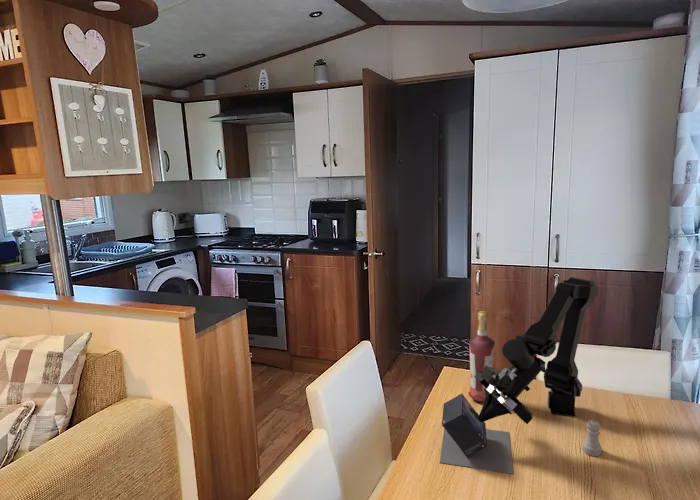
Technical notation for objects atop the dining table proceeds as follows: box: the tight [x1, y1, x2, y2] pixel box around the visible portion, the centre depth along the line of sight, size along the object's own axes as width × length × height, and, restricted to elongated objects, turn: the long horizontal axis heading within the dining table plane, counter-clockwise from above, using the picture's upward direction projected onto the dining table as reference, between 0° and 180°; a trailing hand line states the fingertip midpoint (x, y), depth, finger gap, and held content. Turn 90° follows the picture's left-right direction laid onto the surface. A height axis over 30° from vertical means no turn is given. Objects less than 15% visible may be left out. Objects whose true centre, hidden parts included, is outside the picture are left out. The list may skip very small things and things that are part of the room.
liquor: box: [468, 310, 495, 403], centre depth 138 cm, size 7×7×28 cm
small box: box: [441, 393, 487, 457], centre depth 117 cm, size 11×6×10 cm
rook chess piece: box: [581, 419, 603, 457], centre depth 114 cm, size 4×4×8 cm
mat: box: [439, 427, 514, 475], centre depth 118 cm, size 17×17×1 cm
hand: (479, 420), depth 116 cm, fingers closed
